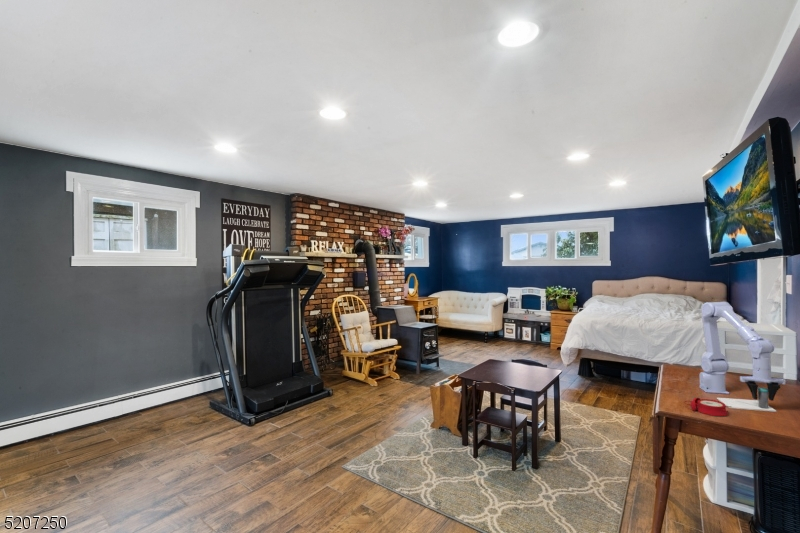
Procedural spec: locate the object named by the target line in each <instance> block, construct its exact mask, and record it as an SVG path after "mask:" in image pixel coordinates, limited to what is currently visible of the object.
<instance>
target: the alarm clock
mask: <svg viewBox="0 0 800 533" xmlns="http://www.w3.org/2000/svg"><path fill="white" fill-rule="evenodd" d="M687 402H688V400H684V402H683V403H684V404H685V405H688V406H690V409H691V410H692V411H693V412H696V411H697V412H699V413H700V414H703V415H708V416H712V417H713V416H714V417H725V416H726V417H727V416H730V414H729V413H728V412H729V410H727V408H728V407H731V406H726V405H725V404H724V403H722V402H721V401H719V400H716V399H709V398H708V399H707V398H702V399H701V398H700V397H694V398H693V400H689V402H690V403H687ZM726 407H727V408H726Z"/></svg>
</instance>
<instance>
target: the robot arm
mask: <svg viewBox="0 0 800 533" xmlns="http://www.w3.org/2000/svg"><path fill="white" fill-rule="evenodd" d="M700 309H701V310H700V311H701V319H702V327H703V329H702V330H703V335H704V342H705V343H704V344H705V349H706V350H705V351H706V352H705V353H704V354H703V355H702V356H701V362H700V367H701V369H702V370H703V372H702V371H700V372H699V375H698V376H699V389H701V390H702V391H703V392H705V393H709V394H710V393H714V394H727V395H729V394H730V392H729V391H728V390H727V389H726V374H727V372H729V370H730V364H729V362H728V359H727V356H726V355H725V354H723V353H722V352H721V351H722V350H721V345H720V344H721V343H720V336H719V330H718V322H717V321H718V320H719V319H720V318H723V319H724V320H726V322H728V323H729V324H730V325H732V326H733V327H734V328H735V329H736V330H737V332H736V333H737V335H738V336H739V337H740V338H741V339H742V340H743V341H744V342H745V343H746V344H747V348H748V351H749V352H750V356H751V357H752V358H751V359H752V360H751V361H752V376H751V375H749V376H747V375H745V376H744V375H743V376H741V375H740V376H739V381H740V382H741V383H745V384H746V386H747V387H748V389H749V391H750V394H751V397H752V400H758V388H759V385H758V384H757V383H761V384H763V383H764V384H766V386H767V389H768V401H771V402H774V399H775V396H776V394H777V393H778V391H779V389H780V388H781V385H786V379H784V378H780V377H772V361H771V360H772V359H771V354H772V353H773V352H774V351H775V346H774V344H773V342H772V341H771V340H769V339H766V338H764V337H763V336H761V335H760V334H759V333H758V332H757V330H755V328H754V327H753V326H750V325H746V324H745V323H744V322H743V321H742V320H741V319H740V317H739V316H738V315H737V314H736V313H735V311H734V308H733V307H732V305H731V304H730V303H729V302H728V301H715V302H710V301H709V302H704V303H703V304H702V305H701V306H700Z"/></svg>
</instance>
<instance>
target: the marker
mask: <svg viewBox="0 0 800 533" xmlns="http://www.w3.org/2000/svg"><path fill="white" fill-rule="evenodd" d="M757 400H758V405H759V407H760V408H765V409H768V406H769V398H768V388H766V387H758V389H757Z"/></svg>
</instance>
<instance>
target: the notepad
mask: <svg viewBox="0 0 800 533" xmlns="http://www.w3.org/2000/svg"><path fill="white" fill-rule="evenodd" d="M716 399H717V401H719V402H722V403H724V404H725V406H731V407H727V408H728V409H737V410H750V411H751V410H752V411H761V412H763V411H764V412H773V413H774V412H775V413H777V410H776V409H774V408H773V407H772V406H770V405H768V409H765V408H760V407H759V405H758V399H757V400H755V399H744V398H743V399H742V398H731V397H730V398H728V397H716Z"/></svg>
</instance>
